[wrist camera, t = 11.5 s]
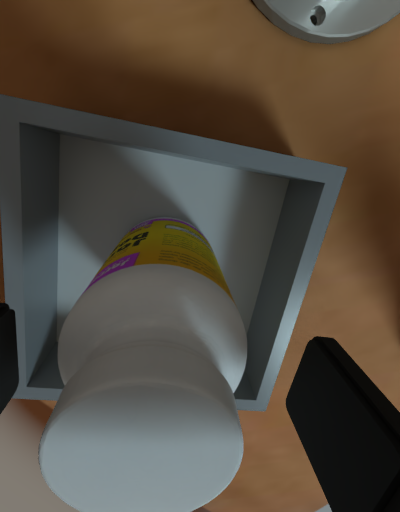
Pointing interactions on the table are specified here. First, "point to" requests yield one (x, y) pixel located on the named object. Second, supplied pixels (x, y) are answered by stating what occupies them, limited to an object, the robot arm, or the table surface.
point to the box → (147, 207)
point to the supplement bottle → (148, 379)
